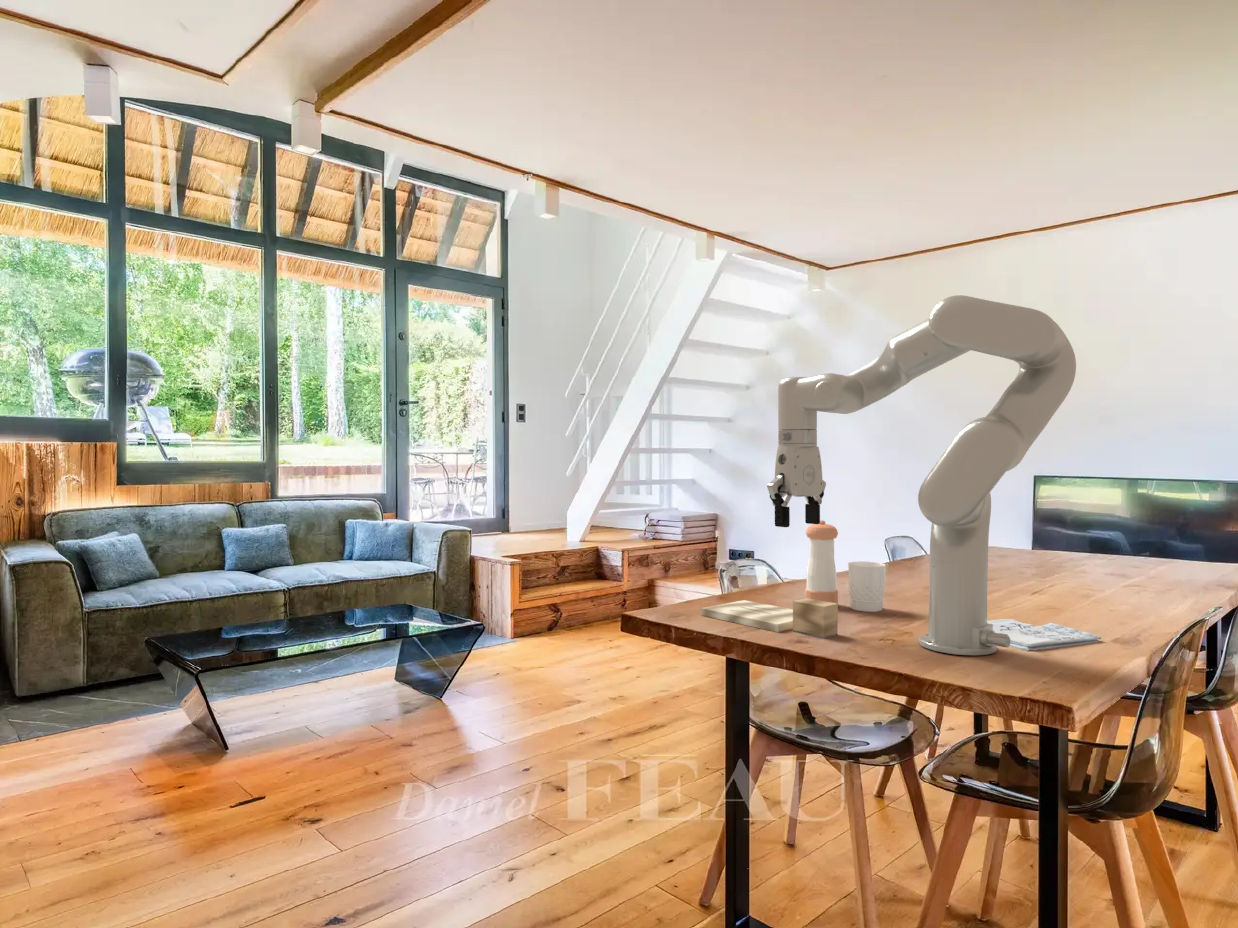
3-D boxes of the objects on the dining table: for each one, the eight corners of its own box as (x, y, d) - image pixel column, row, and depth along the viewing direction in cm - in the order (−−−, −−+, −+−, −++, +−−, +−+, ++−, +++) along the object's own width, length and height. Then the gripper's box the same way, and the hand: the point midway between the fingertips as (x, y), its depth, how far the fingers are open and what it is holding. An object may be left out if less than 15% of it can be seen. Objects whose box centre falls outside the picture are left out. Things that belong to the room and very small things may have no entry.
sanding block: (837, 634, 149) (837, 603, 149) (823, 638, 146) (824, 606, 146) (806, 628, 154) (806, 598, 154) (792, 631, 151) (793, 600, 151)
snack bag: (1028, 654, 137) (1028, 642, 137) (940, 630, 155) (940, 619, 155) (1103, 645, 144) (1104, 633, 144) (1011, 622, 163) (1011, 612, 162)
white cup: (847, 611, 170) (848, 565, 170) (848, 604, 178) (848, 560, 178) (885, 613, 168) (886, 567, 168) (884, 606, 176) (885, 562, 175)
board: (820, 621, 160) (820, 614, 160) (777, 632, 151) (777, 624, 151) (743, 606, 175) (743, 599, 175) (701, 615, 166) (701, 608, 166)
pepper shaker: (841, 608, 173) (842, 522, 173) (808, 608, 174) (809, 521, 173) (833, 601, 181) (833, 519, 180) (801, 601, 181) (802, 519, 181)
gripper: (785, 438, 148) (785, 529, 148) (839, 439, 159) (839, 523, 159) (754, 439, 154) (754, 526, 154) (808, 440, 165) (808, 521, 165)
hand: (797, 525), depth 156 cm, fingers open, 9 cm apart
